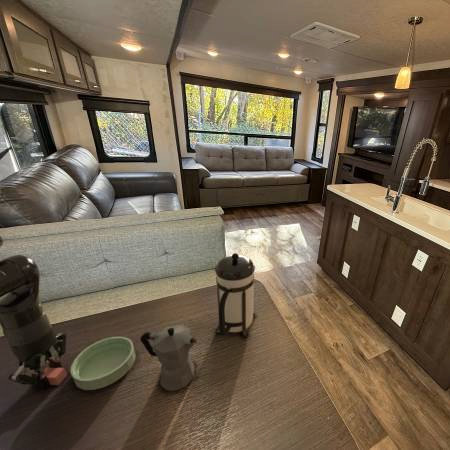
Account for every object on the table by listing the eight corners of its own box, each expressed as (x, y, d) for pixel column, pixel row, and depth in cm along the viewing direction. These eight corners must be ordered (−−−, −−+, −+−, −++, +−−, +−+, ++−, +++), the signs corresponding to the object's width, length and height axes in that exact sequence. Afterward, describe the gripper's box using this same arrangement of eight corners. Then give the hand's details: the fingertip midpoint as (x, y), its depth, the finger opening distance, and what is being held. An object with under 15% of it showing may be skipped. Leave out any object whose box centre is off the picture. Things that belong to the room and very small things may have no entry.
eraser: (34, 384, 66) (31, 377, 65) (44, 374, 69) (41, 367, 67) (58, 385, 66) (55, 377, 65) (67, 375, 69) (64, 367, 68)
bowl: (60, 391, 65) (55, 380, 63) (99, 346, 78) (95, 335, 76) (116, 392, 66) (113, 381, 64) (145, 347, 79) (143, 337, 77)
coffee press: (207, 319, 92) (201, 248, 81) (247, 305, 101) (247, 239, 89) (221, 354, 79) (217, 276, 68) (266, 335, 88) (269, 263, 76)
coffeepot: (207, 364, 76) (203, 319, 69) (192, 395, 67) (186, 347, 60) (158, 358, 76) (149, 312, 69) (137, 388, 67) (125, 339, 60)
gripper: (40, 311, 67) (58, 356, 74) (-20, 356, 54) (9, 406, 61) (69, 312, 68) (85, 356, 74) (17, 357, 55) (41, 406, 61)
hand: (51, 379), depth 67 cm, fingers open, 3 cm apart
